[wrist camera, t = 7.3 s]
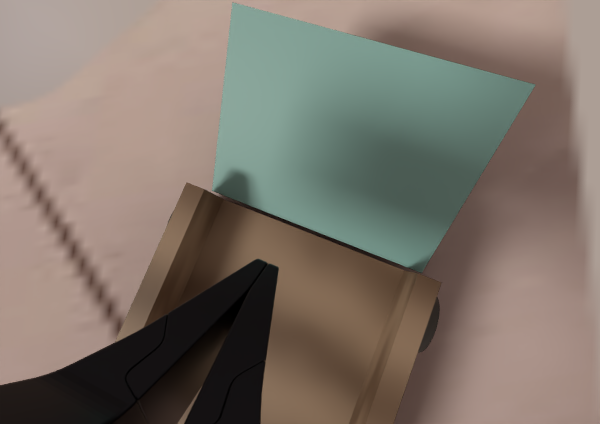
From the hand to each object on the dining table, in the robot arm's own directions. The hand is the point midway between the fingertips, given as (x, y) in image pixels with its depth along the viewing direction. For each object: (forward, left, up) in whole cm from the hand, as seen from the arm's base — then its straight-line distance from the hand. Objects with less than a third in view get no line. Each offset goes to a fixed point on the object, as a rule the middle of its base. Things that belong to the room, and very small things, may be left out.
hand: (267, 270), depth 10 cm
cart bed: (-4, +2, -11) cm, 12 cm away
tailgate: (+3, -1, -10) cm, 10 cm away
